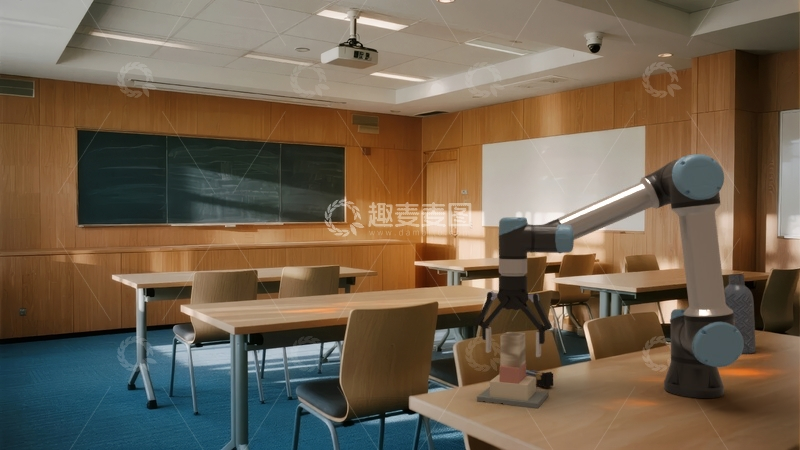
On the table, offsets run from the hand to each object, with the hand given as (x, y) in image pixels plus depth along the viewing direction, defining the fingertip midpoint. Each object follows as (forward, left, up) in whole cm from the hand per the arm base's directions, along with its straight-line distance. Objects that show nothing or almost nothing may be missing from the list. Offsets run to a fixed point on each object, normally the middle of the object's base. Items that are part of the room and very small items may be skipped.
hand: (513, 354), depth 170 cm
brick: (0, 0, -3) cm, 3 cm away
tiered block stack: (0, 0, -12) cm, 12 cm away
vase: (-59, -99, -12) cm, 116 cm away
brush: (-1, -18, -12) cm, 22 cm away
